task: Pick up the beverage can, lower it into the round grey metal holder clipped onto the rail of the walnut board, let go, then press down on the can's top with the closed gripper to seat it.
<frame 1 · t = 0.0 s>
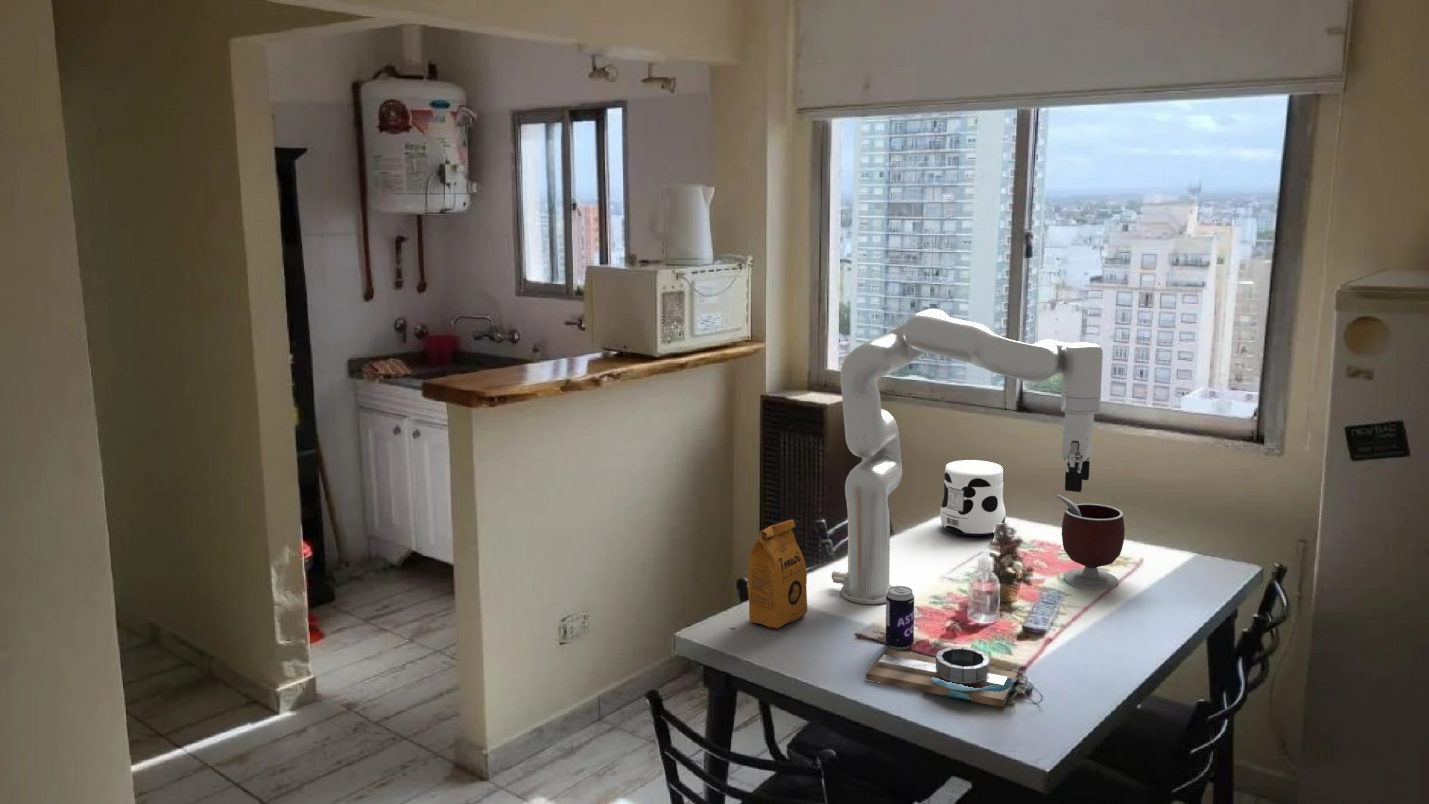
hand: (1077, 485, 219), 31 cm above the table, tool pointing down, fingers open, 9 cm apart
milk container: (972, 531, 290), on the table
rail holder: (941, 663, 201), on the mount board, point 4 cm above the table
coffee package: (778, 620, 232), on the table
mate gourd: (1086, 580, 252), on the table
mount board: (941, 680, 202), on the table
beverage can: (899, 646, 218), on the table
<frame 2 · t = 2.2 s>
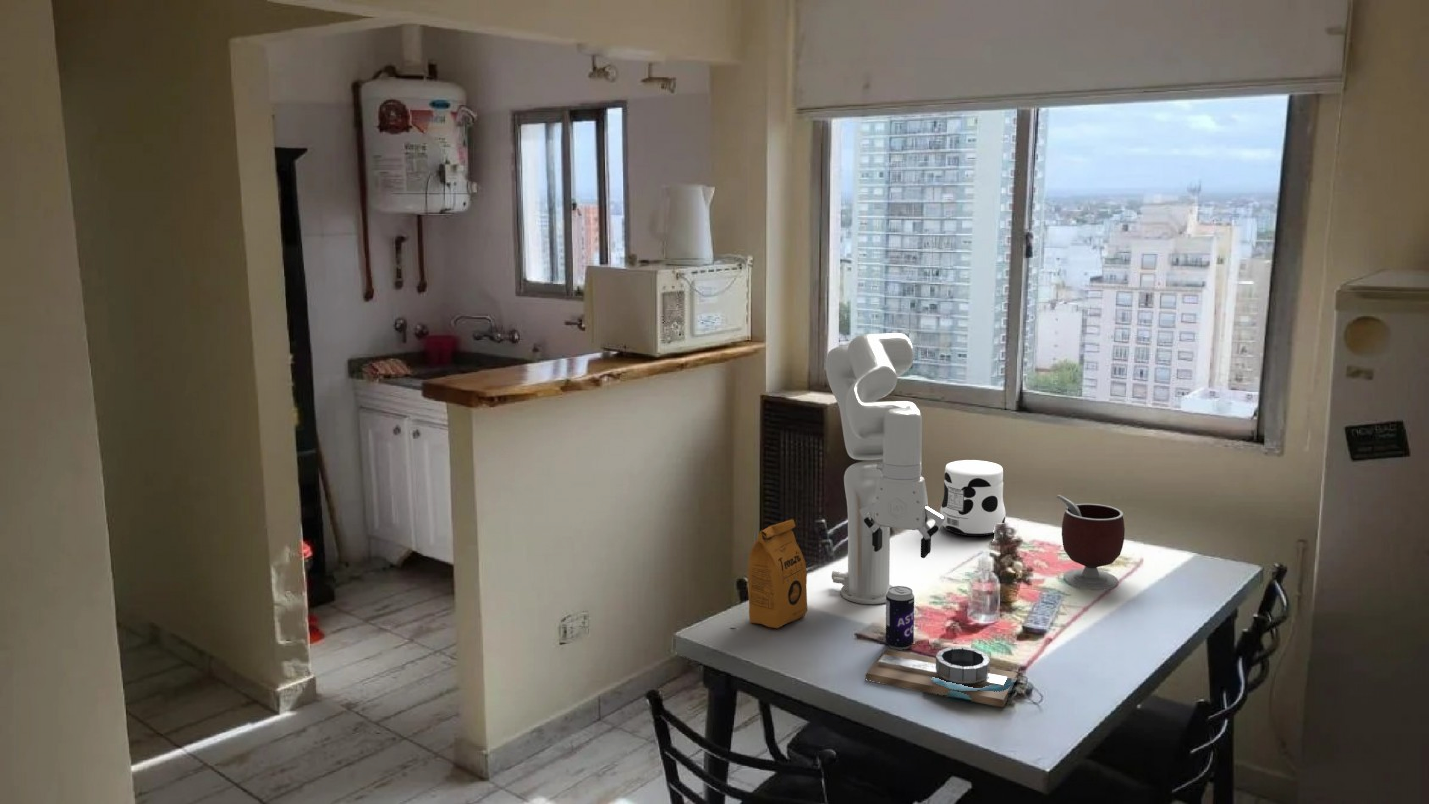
hand: (901, 552, 214), 20 cm above the table, tool pointing down, fingers open, 9 cm apart
nothing on the table moved.
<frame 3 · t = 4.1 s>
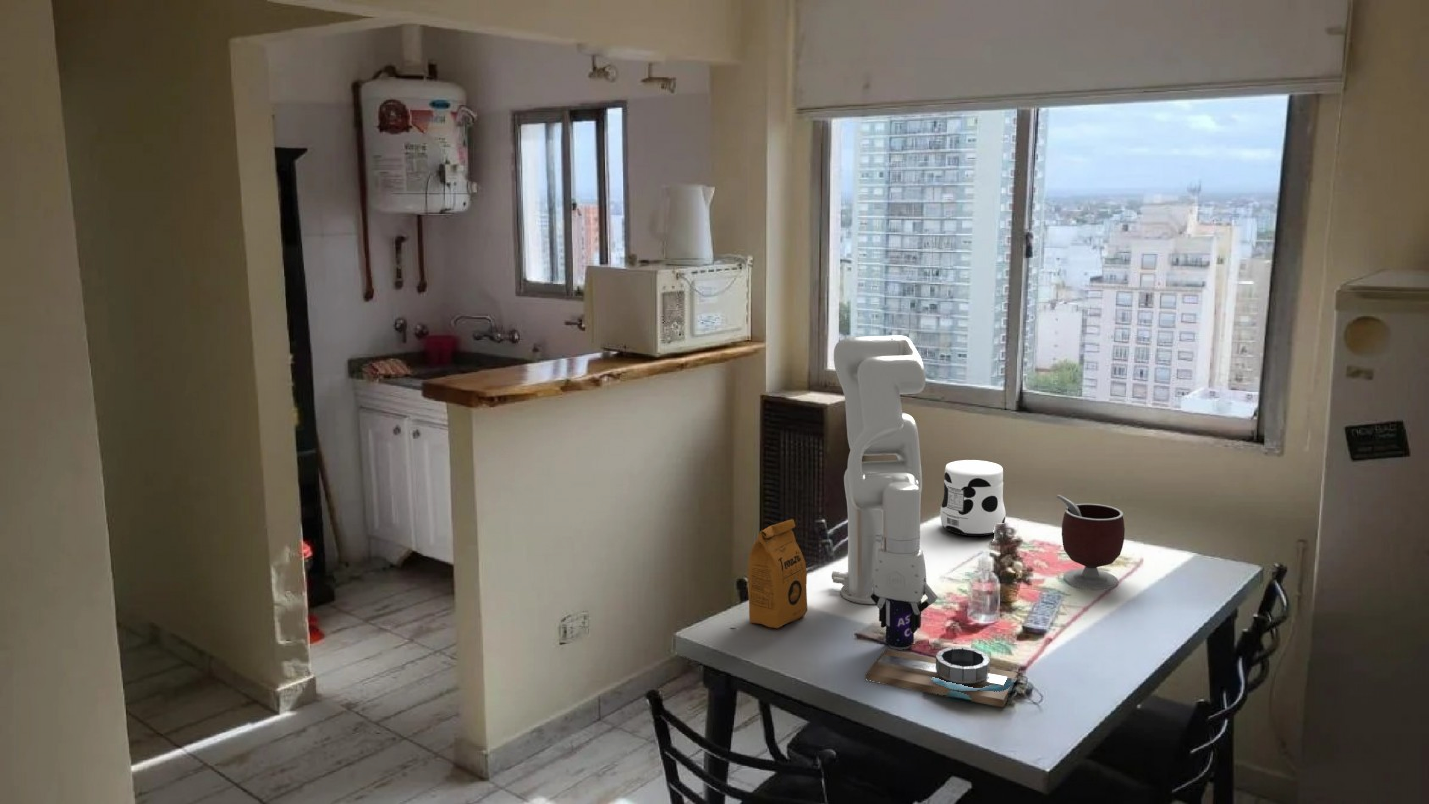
hand: (899, 627, 217), 4 cm above the table, tool pointing down, fingers closed on beverage can, 5 cm apart
beverage can: (899, 646, 218), on the table, touching gripper
everything else where it was.
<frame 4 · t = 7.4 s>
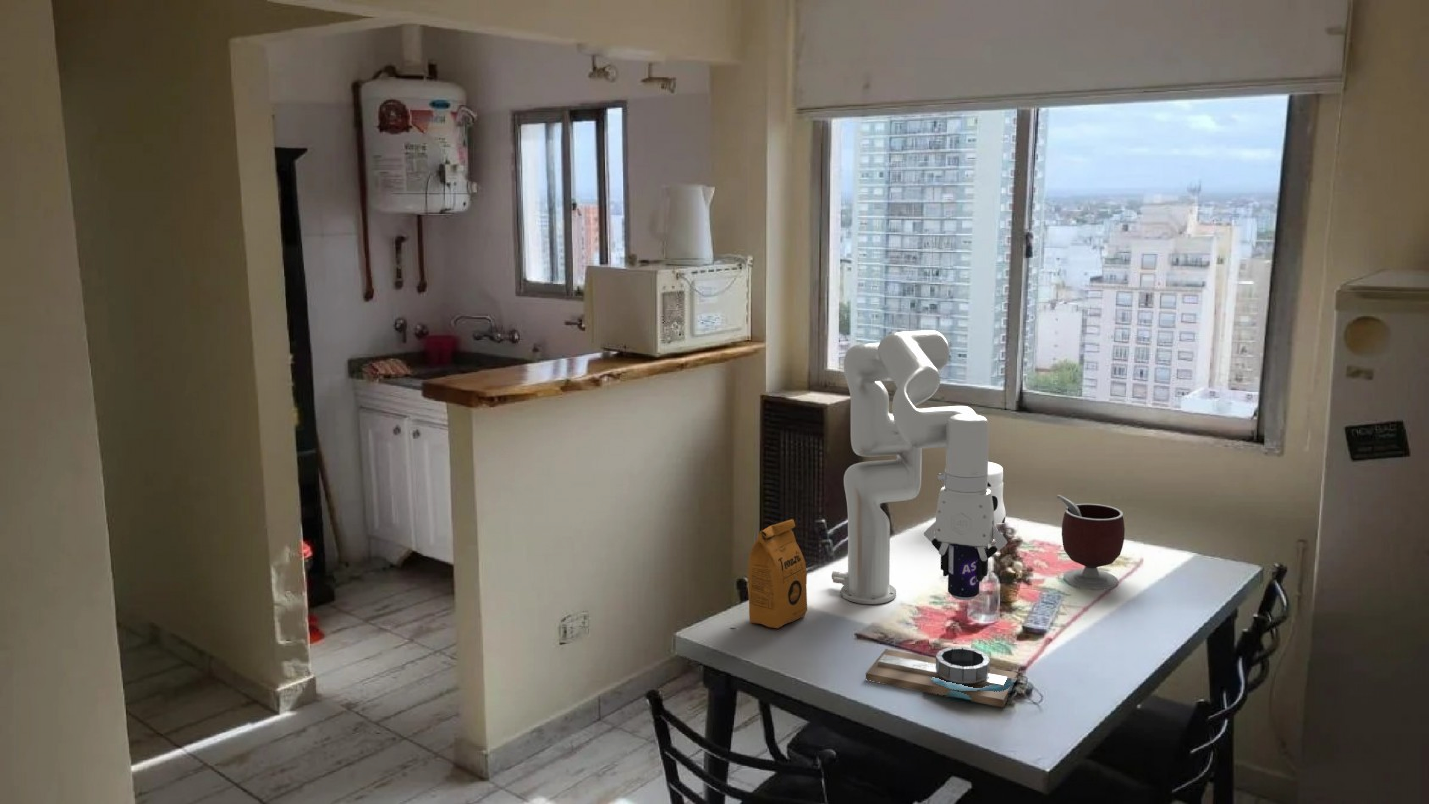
hand: (963, 575, 196), 22 cm above the table, tool pointing down, fingers closed on beverage can, 5 cm apart
beverage can: (963, 597, 197), point 17 cm above the table, touching gripper
everything else where it was.
when the fingers open (8 cm above the table, at t = 10.5 s): beverage can stays where it is, resting on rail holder.
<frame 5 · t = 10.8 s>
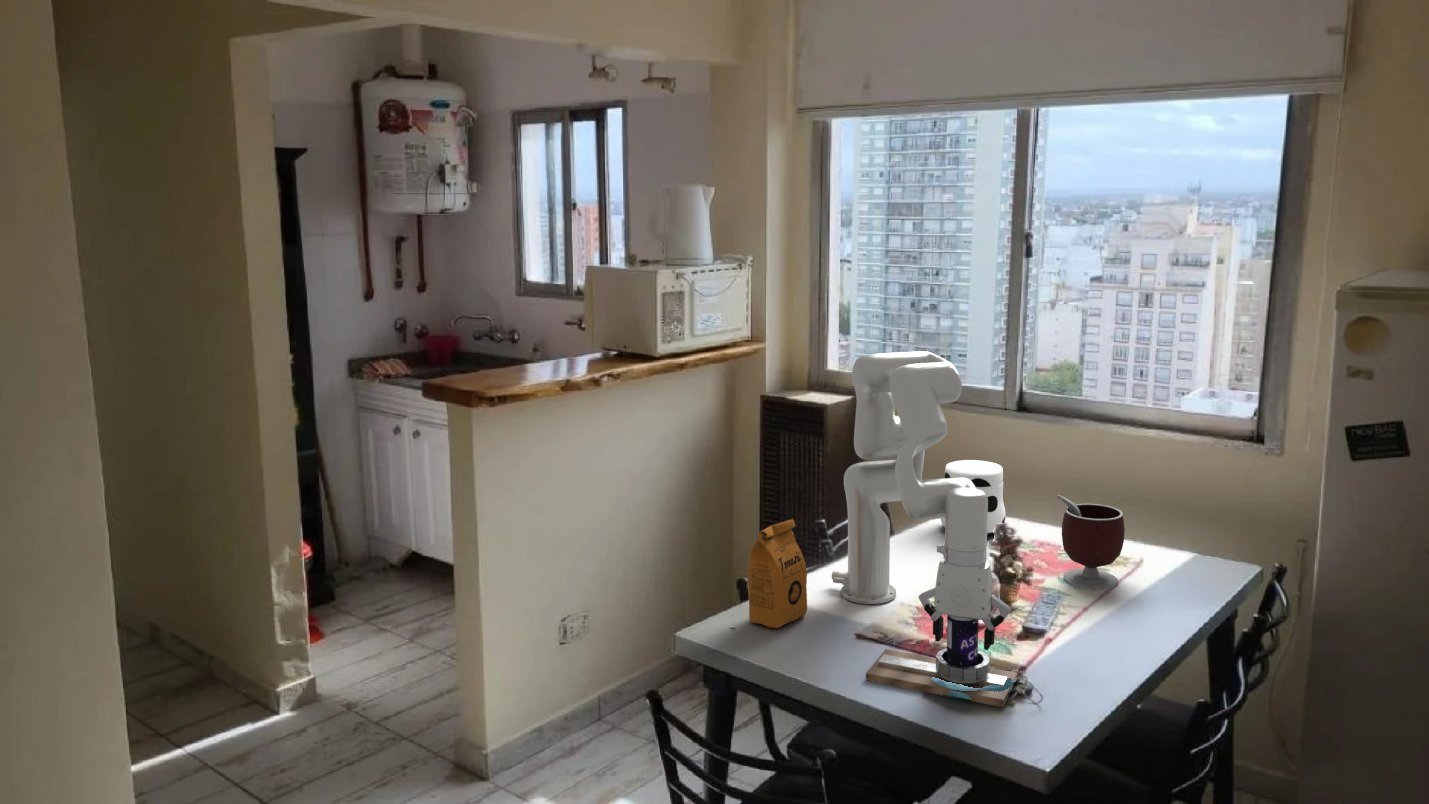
hand: (963, 642, 198), 8 cm above the table, tool pointing down, fingers open, 8 cm apart
beverage can: (961, 670, 200), point 3 cm above the table, touching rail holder
everything else where it was.
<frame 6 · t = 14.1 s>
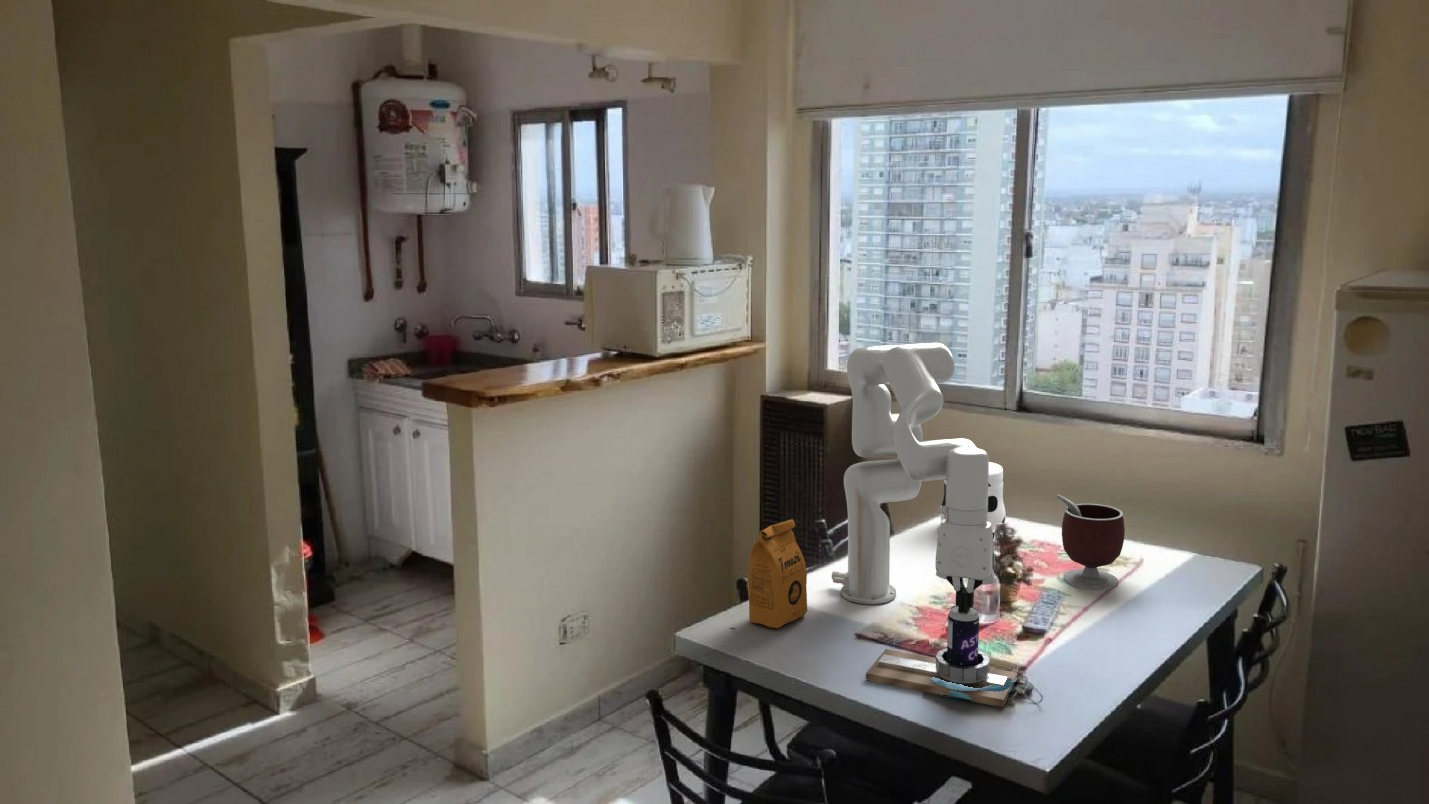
hand: (964, 610, 197), 15 cm above the table, tool pointing down, fingers closed
beverage can: (961, 670, 200), point 3 cm above the table, touching gripper, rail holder
everything else where it was.
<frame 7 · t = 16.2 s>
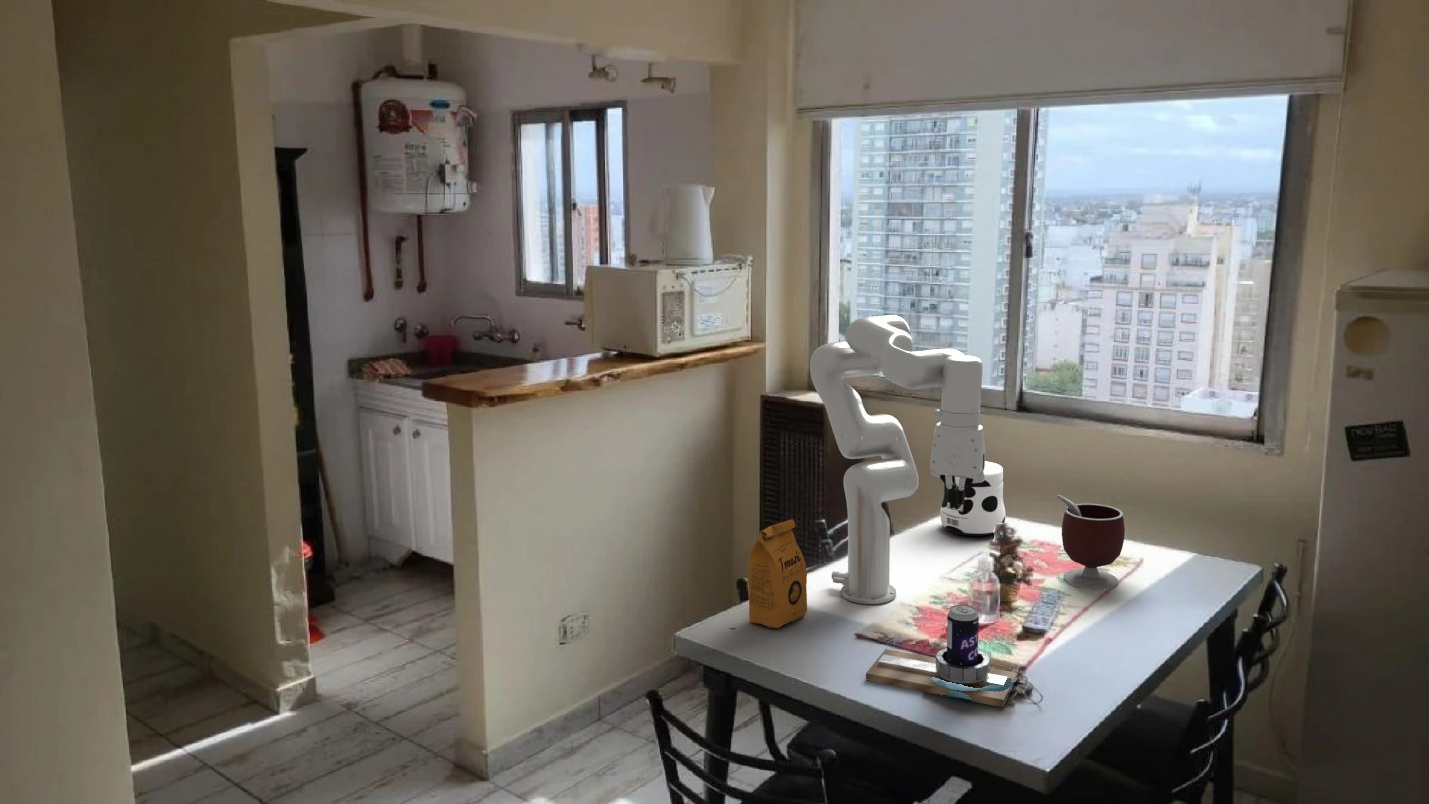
hand: (955, 506, 213), 29 cm above the table, tool pointing down, fingers closed
beverage can: (961, 670, 200), point 3 cm above the table, touching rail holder
everything else where it was.
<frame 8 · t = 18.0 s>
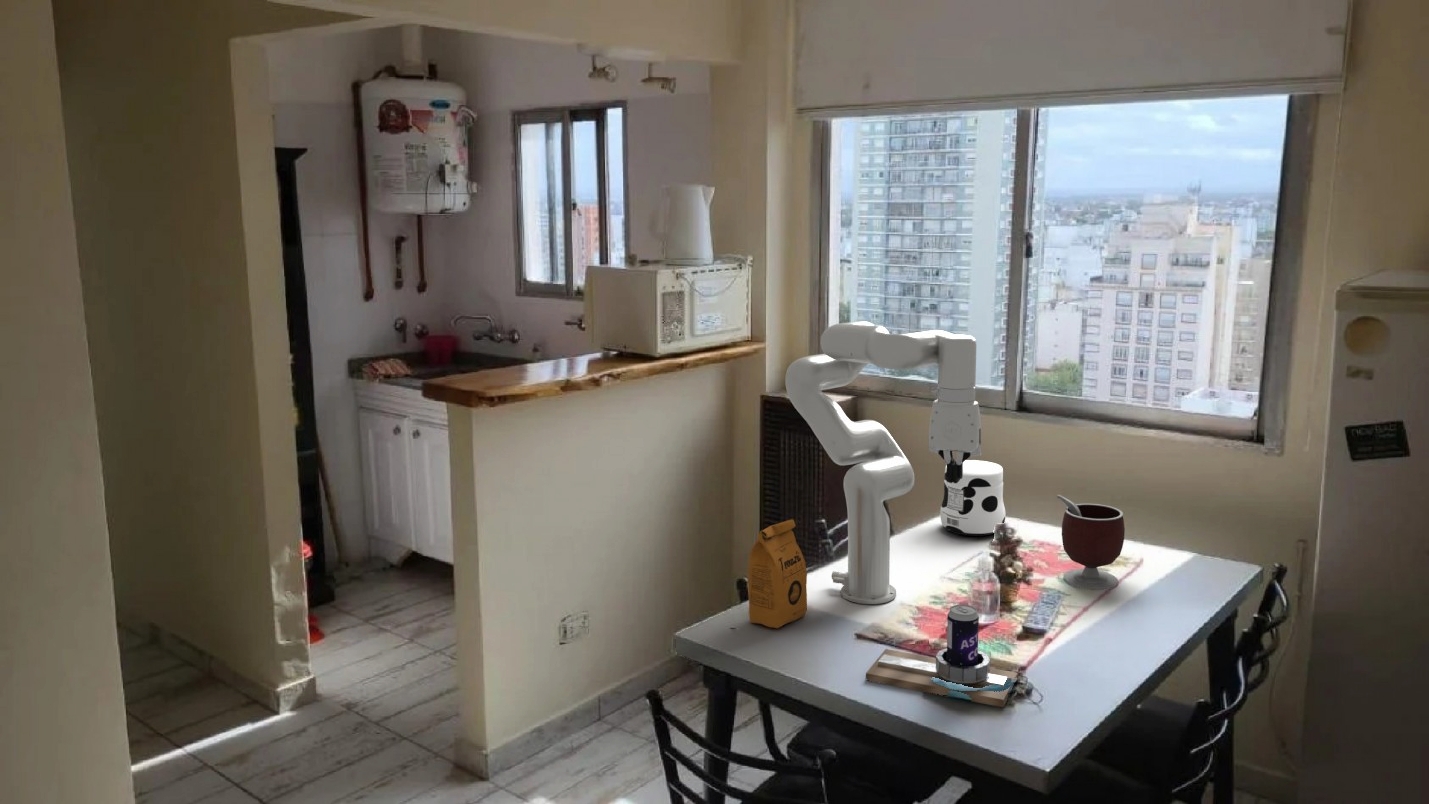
hand: (954, 481, 221), 32 cm above the table, tool pointing down, fingers closed
nothing on the table moved.
at the end: beverage can 0.2 cm from the target spot on the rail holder, point 2.7 cm above the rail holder's base; beverage can tilted 0°; the gripper is holding nothing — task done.
